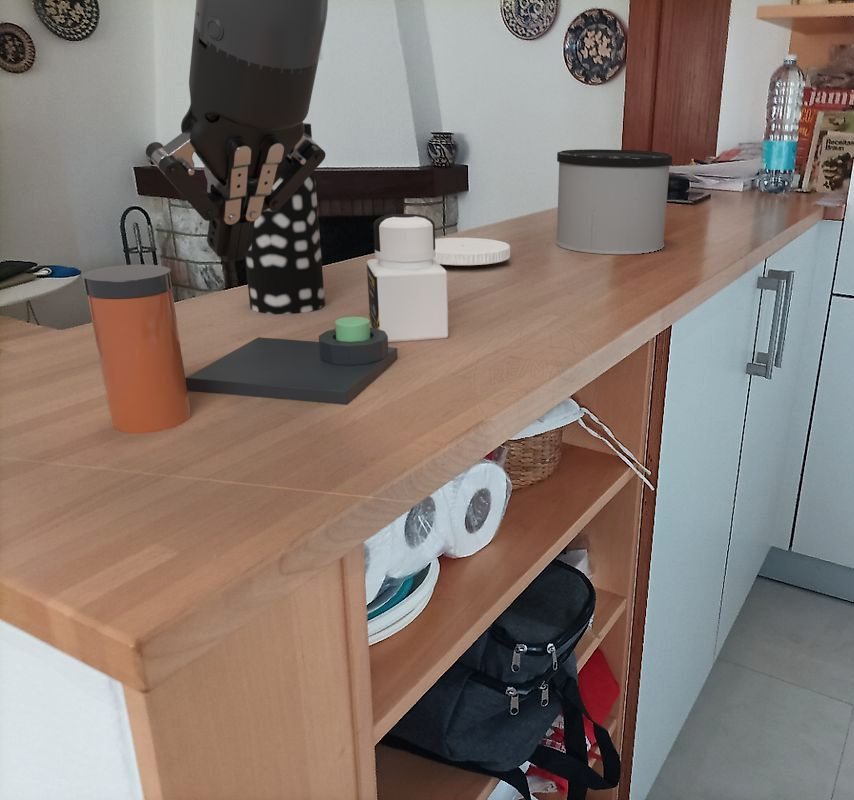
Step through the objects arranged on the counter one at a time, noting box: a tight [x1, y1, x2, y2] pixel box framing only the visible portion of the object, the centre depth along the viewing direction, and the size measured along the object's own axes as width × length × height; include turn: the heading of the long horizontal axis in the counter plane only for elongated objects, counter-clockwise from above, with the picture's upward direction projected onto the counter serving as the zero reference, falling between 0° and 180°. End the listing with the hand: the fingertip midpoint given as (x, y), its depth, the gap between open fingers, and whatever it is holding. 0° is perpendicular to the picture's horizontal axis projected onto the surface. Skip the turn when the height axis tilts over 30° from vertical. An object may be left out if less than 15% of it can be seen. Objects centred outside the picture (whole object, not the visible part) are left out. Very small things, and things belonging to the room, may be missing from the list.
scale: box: [185, 327, 399, 406], centre depth 68 cm, size 14×12×3 cm
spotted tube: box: [244, 122, 326, 315], centre depth 87 cm, size 8×8×20 cm
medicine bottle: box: [366, 213, 449, 343], centre depth 80 cm, size 7×7×12 cm
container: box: [555, 148, 674, 256], centre depth 131 cm, size 19×19×15 cm
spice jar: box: [81, 264, 192, 434], centre depth 57 cm, size 6×6×11 cm
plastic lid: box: [434, 237, 511, 266], centre depth 116 cm, size 14×14×2 cm
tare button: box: [334, 316, 371, 342], centre depth 70 cm, size 3×3×2 cm
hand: (227, 254), depth 60 cm, fingers closed
